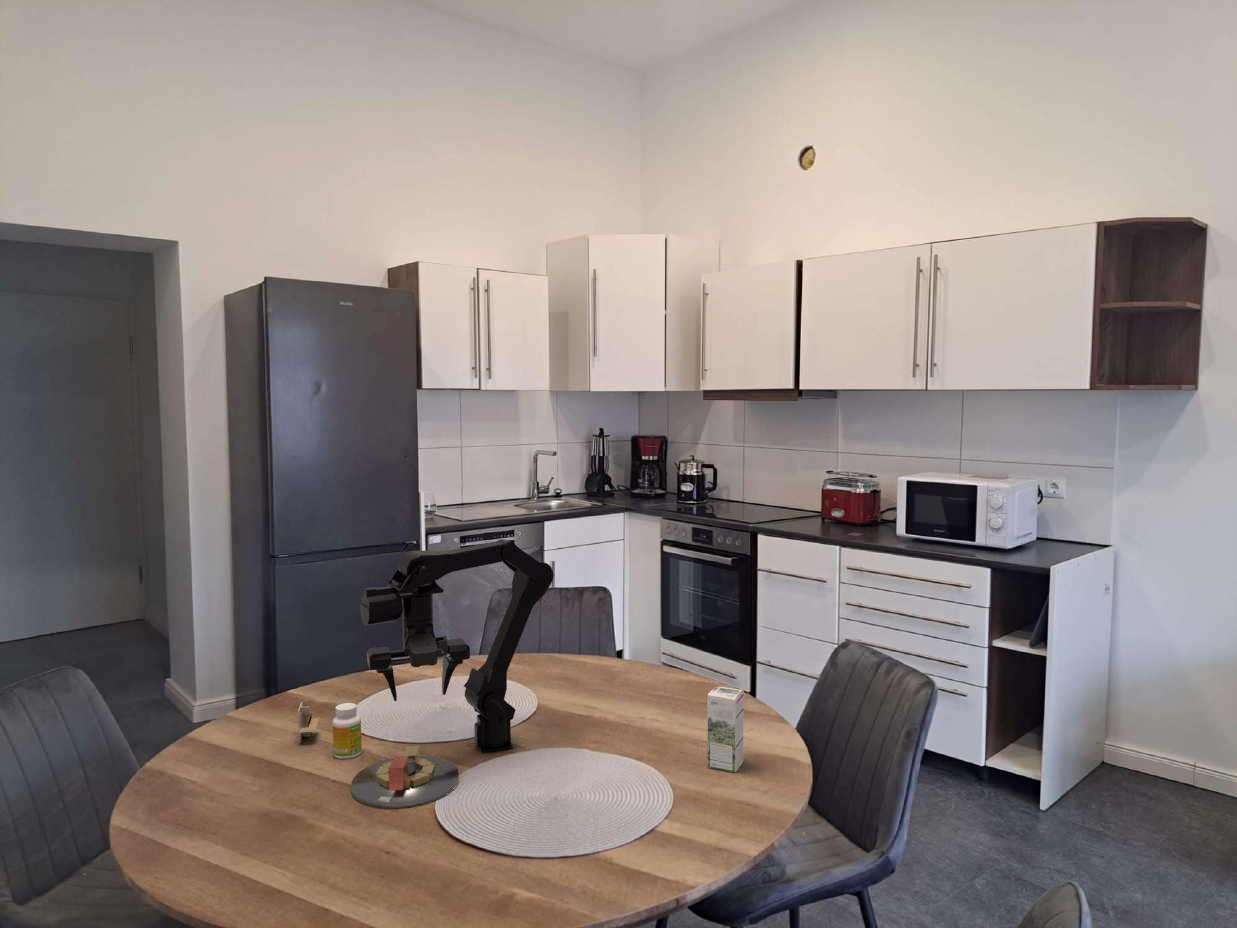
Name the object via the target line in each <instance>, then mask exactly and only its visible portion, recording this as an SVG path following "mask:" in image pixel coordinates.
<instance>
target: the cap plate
mask: <svg viewBox="0 0 1237 928" xmlns="http://www.w3.org/2000/svg"><path fill="white" fill-rule="evenodd" d="M417 758H420V759H426V760H428V761H430V762H432V763H434V765H435V772H434V775H433V777H432V779H430V781H428V782H425V783H423V784H421V785H418V786H416V787H412V786H410V788H404V789H403V790H389V787H388V788H386V787H384V786H382V785H381V784H379V783H377V782H376V773H377V771H378V769H379V767H380V766H382V765H383V764H386V763H388V762H391V761H393V759H394V757H393V758H389V759H385V760H381V761H379V762H378V761H377V762H376V763H373V764H371V765H368V766H367V767H364V768H363V769H362V770H360V771H359V772H358V773H356V775H355V776H354V777H353V779H352V781H351V786H350V788H351V795H352V797H353V798H354V800H356V801H357V802H359V803H360V804H362V805H365V806H368V807H372V808H378V809H386V810H387V809H390V810H391V809H392V810H393V809H394V810H395V809H407V808H414V807H419V806H422V805H425V804H430V803H433V802H435V801H437V799H438V800H440V799H442V798H444V797H445V796H444V795H446V794H447V793H449V792H450V791H451V790H452V791H454V789H455V788H456V787H457V786H456V785H458V783H459V781H458V780H459V769H458V768H457V766H456V765H455V764H454V763H453V762H451V761H449V760H447V759H444V758H441V757H436V756H429V755H418V757H417ZM408 767H409V776H412V775H414V774H417V773H420V772H421V771H419V770H417V769H416V762H415V760H414V759H409V758H408ZM455 786H456V787H455ZM454 787H455V788H454ZM453 788H454V789H453ZM452 791H451V792H452ZM451 792H450V793H451ZM450 793H449V794H450ZM447 795H448V794H447ZM447 795H446V796H447ZM443 796H444V797H443ZM441 797H442V798H441ZM439 798H440V799H439Z"/></svg>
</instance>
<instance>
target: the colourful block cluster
mask: <svg viewBox="0 0 1237 928" xmlns="http://www.w3.org/2000/svg"><path fill="white" fill-rule="evenodd" d="M420 753H421V746H420V745H407V746H406V747H405V750H404V752H403V754H402V755H397V756H396V755H395V756H394V757H393V758H394V759H393V758H392V759H393V761H391V762H388V763H386V764H383V765H382V766H380V767H379V769H378V771H377V773H376V782H377V783H379V784H381V785H382V786H384V787H386V788H388V787H389V790H403V789H404V788H410V786H412V787H416V786H418V785H421V784H423V783H425V782H428V781H430V779H432V777H433V775H434V772H435V765H434V763H432V762H430V761H428V760H426V759H420V758H417V757H418V756H420V755H419V754H420ZM408 758H409V759H414V760H415V762H416V769H417V770H419V771H421V772H420V773H417V774H414V775H412V776H409V767H408Z"/></svg>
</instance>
